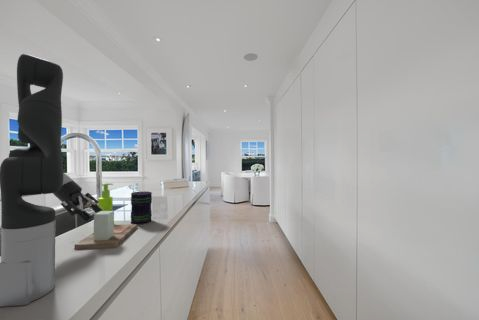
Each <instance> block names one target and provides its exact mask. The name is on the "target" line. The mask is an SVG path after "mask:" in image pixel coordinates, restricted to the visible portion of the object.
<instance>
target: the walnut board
mask: <svg viewBox="0 0 479 320" xmlns="http://www.w3.org/2000/svg"><path fill="white" fill-rule="evenodd" d="M114 226H129V227H128V228H127V229H126V230H124V231H123V232H122V233H114V235H113V236H112V237H111V238H110V239H108V240H95V241H94V232H93V233H90V234H89V235H88V236H85V237H84V238H83V239H82V240H80V241H78V242H77V243H75V244H74V247H73V248H74V250H80V249H81V250H83V249H107V248H108V249H110V248H118V246H119V245H120V244H121V243H122V242H124V241H125V240H126V238H128V237H129V236H130V235H131V234H132V233H133V232H134V231H135V230H136V229H137V228H138V225H137V224H131V223H130V224H114Z"/></svg>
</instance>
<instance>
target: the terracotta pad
mask: <svg viewBox="0 0 479 320" xmlns="http://www.w3.org/2000/svg"><path fill="white" fill-rule="evenodd" d="M128 227H129V226H114V233H122V232H123V231H124V230H126V229H127V228H128Z"/></svg>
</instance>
